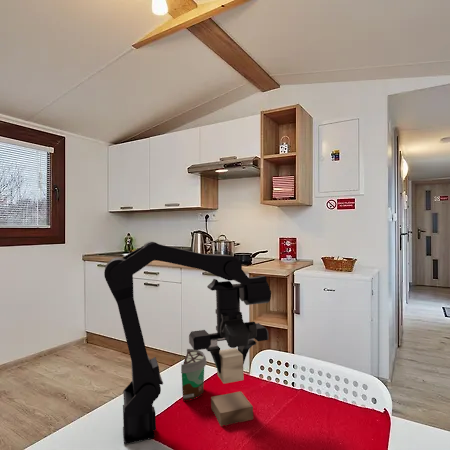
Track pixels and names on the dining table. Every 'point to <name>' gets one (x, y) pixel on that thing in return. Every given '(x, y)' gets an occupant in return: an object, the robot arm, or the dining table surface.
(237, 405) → the walnut base
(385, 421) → the dining table surface
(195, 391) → the food container
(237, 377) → the birch block
